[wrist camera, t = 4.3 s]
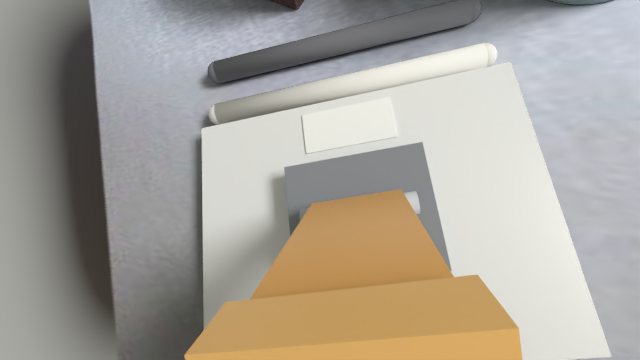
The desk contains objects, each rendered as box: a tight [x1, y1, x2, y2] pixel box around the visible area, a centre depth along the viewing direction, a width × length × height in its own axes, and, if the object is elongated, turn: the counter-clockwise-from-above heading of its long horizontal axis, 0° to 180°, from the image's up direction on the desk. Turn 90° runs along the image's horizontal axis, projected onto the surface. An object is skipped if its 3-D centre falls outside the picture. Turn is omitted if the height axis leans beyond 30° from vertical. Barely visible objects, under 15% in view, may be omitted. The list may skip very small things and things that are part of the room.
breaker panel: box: [202, 62, 611, 360], centre depth 16 cm, size 14×18×2 cm
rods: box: [208, 0, 497, 125], centre depth 19 cm, size 17×5×1 cm, turn 97°
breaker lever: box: [184, 189, 522, 360], centre depth 9 cm, size 2×5×10 cm, turn 97°
